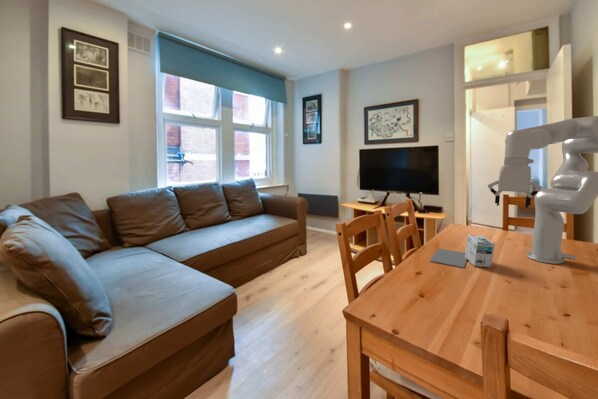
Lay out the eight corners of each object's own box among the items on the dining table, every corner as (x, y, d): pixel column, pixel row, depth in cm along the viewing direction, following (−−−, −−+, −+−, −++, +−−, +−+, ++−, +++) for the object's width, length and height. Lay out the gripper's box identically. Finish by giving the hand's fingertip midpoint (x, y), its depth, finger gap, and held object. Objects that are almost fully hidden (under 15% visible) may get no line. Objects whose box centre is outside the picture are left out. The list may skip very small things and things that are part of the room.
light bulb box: (491, 268, 113) (495, 243, 111) (473, 266, 114) (477, 241, 112) (480, 258, 123) (483, 235, 122) (463, 256, 125) (467, 234, 123)
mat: (468, 254, 129) (468, 253, 129) (463, 268, 113) (463, 267, 113) (438, 249, 137) (438, 248, 137) (429, 261, 121) (429, 260, 121)
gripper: (544, 162, 104) (539, 206, 107) (489, 162, 115) (486, 203, 117) (546, 162, 99) (541, 210, 101) (488, 163, 109) (485, 205, 111)
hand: (511, 206), depth 109 cm, fingers open, 8 cm apart
